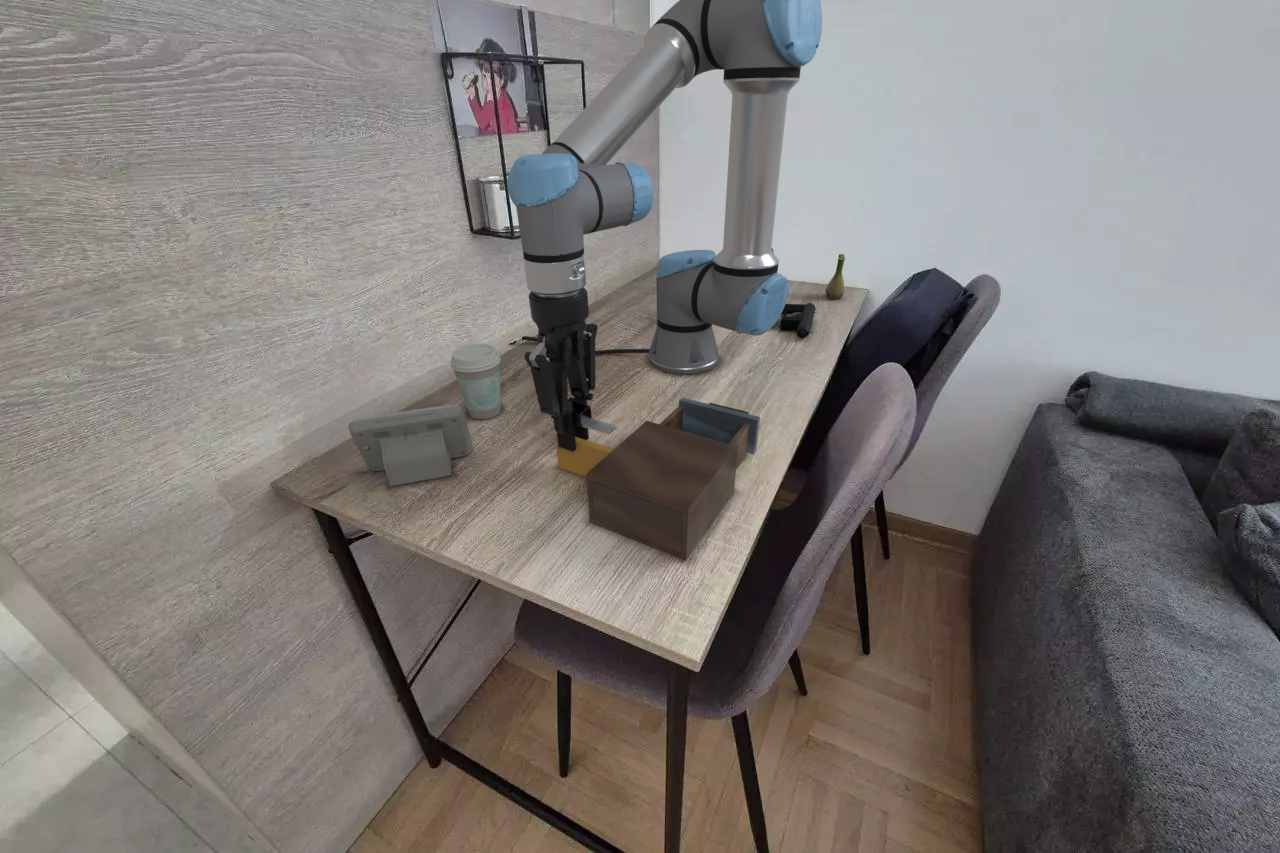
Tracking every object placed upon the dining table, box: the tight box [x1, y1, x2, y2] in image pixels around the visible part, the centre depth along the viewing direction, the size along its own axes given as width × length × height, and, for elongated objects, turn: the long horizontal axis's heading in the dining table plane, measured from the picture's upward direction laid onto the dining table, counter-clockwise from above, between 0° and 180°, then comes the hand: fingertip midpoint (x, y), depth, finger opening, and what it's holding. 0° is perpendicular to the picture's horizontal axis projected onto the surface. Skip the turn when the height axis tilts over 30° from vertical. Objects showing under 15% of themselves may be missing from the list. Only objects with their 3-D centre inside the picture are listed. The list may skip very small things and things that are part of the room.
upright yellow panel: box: [554, 433, 615, 478], centre depth 82 cm, size 10×1×6 cm, turn 60°
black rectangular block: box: [550, 400, 618, 435], centre depth 78 cm, size 10×3×2 cm, turn 59°
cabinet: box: [585, 420, 738, 561], centre depth 74 cm, size 16×15×8 cm
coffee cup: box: [450, 343, 502, 420], centre depth 98 cm, size 8×9×12 cm
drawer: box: [659, 396, 761, 470], centre depth 84 cm, size 19×13×6 cm
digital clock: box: [347, 403, 473, 487], centre depth 83 cm, size 16×9×11 cm, turn 96°
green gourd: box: [825, 253, 846, 300], centre depth 151 cm, size 6×5×12 cm
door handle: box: [772, 302, 818, 340], centre depth 136 cm, size 3×20×16 cm
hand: (573, 442), depth 82 cm, fingers closed on black rectangular block, 3 cm apart
